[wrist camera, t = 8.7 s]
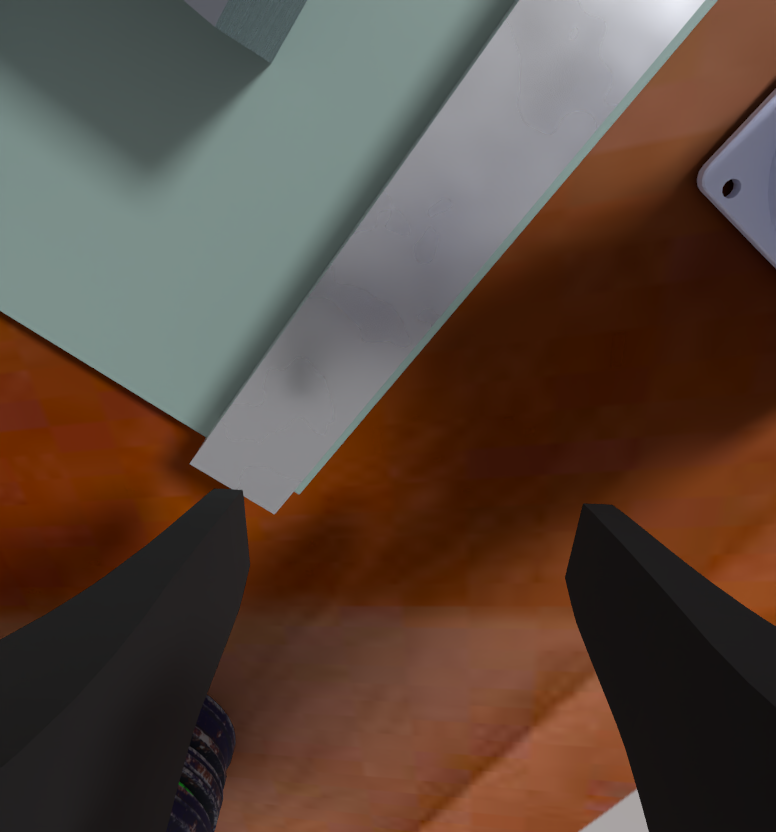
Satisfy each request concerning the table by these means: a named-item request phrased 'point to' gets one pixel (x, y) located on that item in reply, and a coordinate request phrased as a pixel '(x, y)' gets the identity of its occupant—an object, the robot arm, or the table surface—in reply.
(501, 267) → the table surface
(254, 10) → the steel block
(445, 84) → the vise base
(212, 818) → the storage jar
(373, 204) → the bar
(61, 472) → the table surface
